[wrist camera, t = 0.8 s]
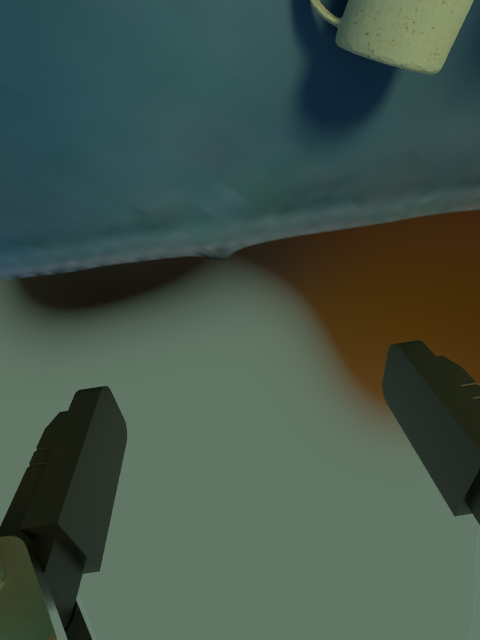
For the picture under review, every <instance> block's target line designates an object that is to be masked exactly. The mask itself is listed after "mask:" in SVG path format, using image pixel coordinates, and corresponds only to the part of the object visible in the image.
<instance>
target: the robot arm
mask: <svg viewBox="0 0 480 640" xmlns="http://www.w3.org/2000/svg"><path fill="white" fill-rule="evenodd" d="M382 389H383V394H384V398H385V400H386V402H387V404H388V406H389V407H390V409H391V411H392V413H393V414H394V416H395V417H396V419H397V421H398V423H399V424H400V426H401V428H402V429H403V431H404V433H405V434H406V436H407V438H408V439H409V441H410V443H411V444H412V446H413V448H414V449H415V451H416V453H417V454H418V456H419V457H420V459H421V461H422V463H423V464H424V466H425V468H426V469H427V471H428V473H429V474H430V476H431V478H432V479H433V481H434V483H435V484H436V486H437V488H438V489H439V491H440V493H441V494H442V496H443V498H444V499H445V501H446V503H447V504H448V506H449V508H450V509H451V511H452V513H453V514H454V516H459V515H465V514H473V515H474V517H475V518H476V520H477V521H478V523H479V527H478V530H477V543H476V561H475V580H474V599H473V614H472V621H471V626H470V629H469V632H468V635H467V638H466V640H480V386H479V385H476V382H475V380H474V379H473V378H472V377H471V376H470V375H469V374H468V373H467V372H466V371H465V370H464V369H463V368H462V367H461V366H459V365H457V364H456V363H454V362H452V361H451V360H449V359H447V358H446V357H444V356H437V357H436V356H435V355H434V354H433V353H432V352H431V350H430V349H429V348H428V347H427V346H426V345H425V344H424V343H423V342H422V341H419V340H417V341H411V342H404V343H397V344H392V345H390V347H389V350H388V354H387V360H386V365H385V370H384V376H383V381H382ZM126 442H127V428H126V423H125V420H124V418H123V416H122V414H121V411H120V409H119V407H118V405H117V403H116V401H115V398H114V397H113V394H112V392H111V390H110V389H109V387H107V386H102V387H96V388H89V389H82V390H79V391H77V392H76V393H75V395H74V398H73V400H72V402H71V405H70V407H69V410H68V411H64V412H60V413H59V414H58V415H57V416H56V417H55V418H54V419H53V420H52V422H51V423H50V424H49V425H48V426H47V427H46V428H45V430H44V432H43V435H42V437H41V439H40V441H39V443H38V446H37V451H35V452H34V454H33V456H32V459H31V461H30V463H29V464H30V466H29V467H28V468H27V469H26V472H25V474H24V476H23V478H22V480H21V483H20V485H19V487H18V489H17V491H16V493H15V496H14V498H13V500H12V502H11V505H10V507H9V509H8V511H7V513H6V515H5V517H4V520H3V522H2V524H1V526H0V640H98V638H97V636H96V633H95V631H94V628H93V626H92V624H91V621H90V619H89V617H88V614H87V612H86V609H85V607H84V605H83V602H82V600H81V597H80V595H79V594H78V590H79V586H80V581H81V577H82V574H85V573H91V572H97V571H100V567H101V562H102V557H103V553H104V548H105V542H106V538H107V533H108V528H109V524H110V519H111V514H112V509H113V504H114V500H115V495H116V490H117V485H118V481H119V475H120V471H121V466H122V461H123V456H124V452H125V447H126Z"/></svg>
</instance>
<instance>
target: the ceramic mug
mask: <svg viewBox="0 0 480 640" xmlns="http://www.w3.org/2000/svg"><path fill="white" fill-rule="evenodd" d="M473 1H474V0H348V3H347V5H346V8H345V11H344V14H343V17H341V18H338V17H336V16H334V15H333V14H332V13H330V12H329V11H328V10H327V9H326V8H325V7H324V6H323V5H322V4H321V3H320V1H319V0H310V2H311V4H312V6H313V7H314V9H315V10H316V11H317V13H318V14H319V15H320V16H321V17H322V18H323V19H325V20H326V21H328V22H329V23H331V24H332V25H334V26H336V27H337V28H338V31H337V35H336V38H335V42H336V44H337V45H338V46H339V47H341V48H343V49H344V50H347V51H350V52H352V53H354V54H357V55H359V56H363V57H365V58H368V59H372V60H375V61H378V62H381V63H384V64H387V65H390V66H395V67H399V68H402V69H407V70H410V71H416V72H420V73H424V74H436V73H438V72H439V71H440V69H441V68H442V66H443V64H444V62H445V60H446V58H447V56H448V53H449V51H450V49H451V47H452V45H453V43H454V41H455V38H456V36H457V34H458V32H459V30H460V28H461V26H462V24H463V22H464V20H465V18H466V16H467V13H468V11H469V9H470V7H471V5H472V3H473Z"/></svg>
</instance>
